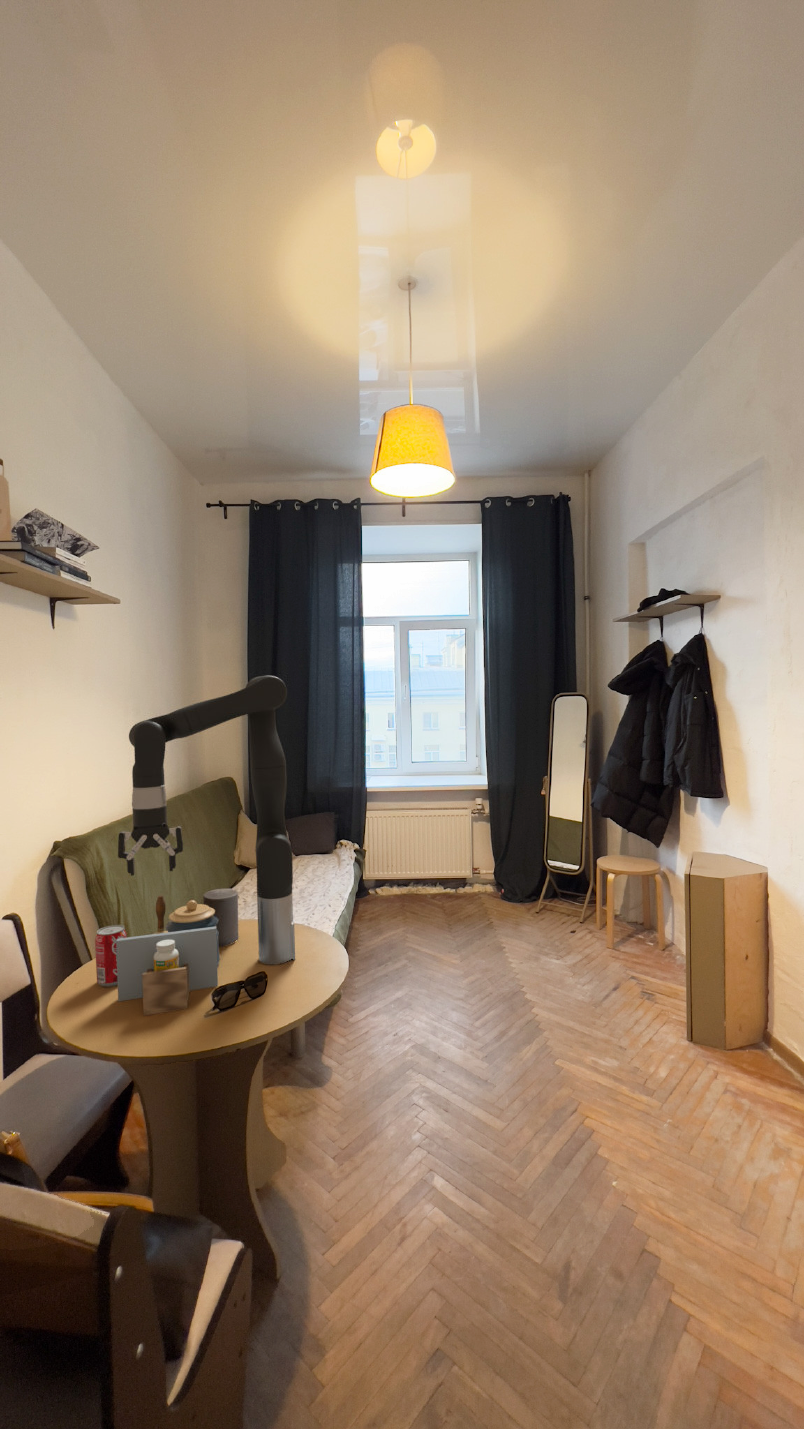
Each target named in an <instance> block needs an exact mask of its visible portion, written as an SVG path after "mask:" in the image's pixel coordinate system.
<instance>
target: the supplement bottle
mask: <svg viewBox="0 0 804 1429" xmlns="http://www.w3.org/2000/svg"><path fill="white" fill-rule="evenodd" d="M156 950H157V952H156V953H155V955H154V971H160V970H168V969H175V968H179V953H178V950H176V949H175V941H174V940H163V941H160V942H158V943H157V944H156Z"/></svg>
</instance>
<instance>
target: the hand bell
mask: <svg viewBox="0 0 804 1429" xmlns="http://www.w3.org/2000/svg"><path fill="white" fill-rule="evenodd" d="M166 906H167V905H166V902H165V898H164V895H162V894H161V895H158V896H157V899H156V902H155V914H156V919H157V931H156V932H155V933H154V934H160V933H168V931H167V930H165V921H164V920H165V914H166V909H167V908H166Z"/></svg>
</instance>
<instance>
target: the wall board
mask: <svg viewBox="0 0 804 1429" xmlns="http://www.w3.org/2000/svg"><path fill="white" fill-rule="evenodd" d="M167 932H168V931H167ZM163 940H174V941H175V949H176V950H178V953H179V968H182V967H184V964H188V966H189V991H195V990H202V989H208V988H215V987H219V981H218V980H219V977H218V976H219V975H218V967H217V941H216V927H208V928H200V929H192V930H184V931H176V932H168V933H160V934H155V933H152V934H145V935H138V936H137V935H135V936H129V937H128V936H127V938H120V939H117V940H116V950H117V979H118V985H117V998H118V999H117V1001H118V1002H122V1001H123V1002H124V1001H129V1000H136V999H143V973H146V972H147V970H148V969H152V972H153V971H154V955H155V953H156V952H157V950H156V944H157V943H158V942H160V941H163Z"/></svg>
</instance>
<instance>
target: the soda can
mask: <svg viewBox="0 0 804 1429" xmlns="http://www.w3.org/2000/svg"><path fill="white" fill-rule="evenodd" d="M127 935H128V934H127V931H126V930H125V926H124V925H122V924H114V925H108V926H104V927H101V928H99V929H98V930H97V931H96V935H95V939H94V941H95V942H94V946H95V948H94V949H95V968H96V982H97V983H98V984H99V986H101V987H113V986H118V979H117V950H116V940H117V939H120V938H128V936H127Z"/></svg>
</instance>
